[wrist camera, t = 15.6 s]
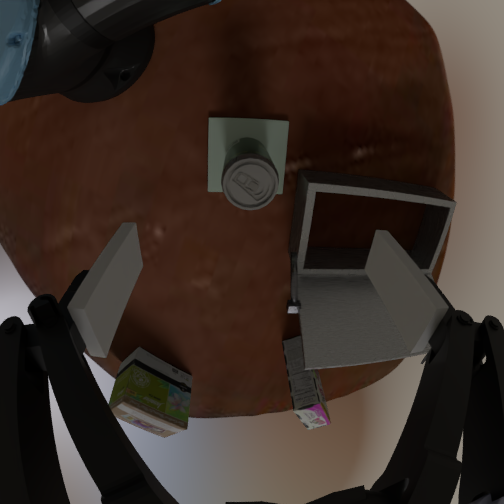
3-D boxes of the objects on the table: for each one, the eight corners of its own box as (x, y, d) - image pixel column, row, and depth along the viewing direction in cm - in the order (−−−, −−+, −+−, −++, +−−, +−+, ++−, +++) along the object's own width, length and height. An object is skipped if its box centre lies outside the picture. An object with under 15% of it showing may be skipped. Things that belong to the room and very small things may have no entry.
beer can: (217, 162, 35) (208, 192, 25) (241, 128, 33) (242, 143, 23) (251, 183, 37) (257, 222, 27) (276, 151, 35) (292, 178, 24)
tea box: (194, 374, 60) (189, 430, 47) (171, 388, 63) (164, 439, 51) (138, 344, 54) (122, 403, 41) (119, 361, 57) (104, 414, 45)
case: (288, 168, 36) (327, 231, 21) (435, 188, 38) (509, 244, 23) (275, 278, 46) (292, 372, 30) (406, 277, 48) (452, 348, 32)
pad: (209, 117, 32) (208, 117, 32) (288, 121, 33) (289, 121, 33) (208, 190, 38) (208, 191, 37) (281, 192, 38) (282, 194, 38)
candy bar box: (317, 360, 59) (332, 424, 45) (296, 367, 60) (307, 431, 46) (304, 332, 53) (321, 404, 39) (280, 340, 54) (291, 412, 40)
